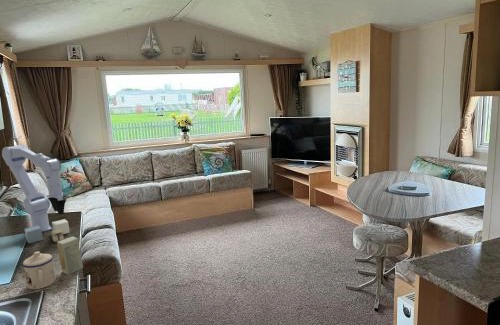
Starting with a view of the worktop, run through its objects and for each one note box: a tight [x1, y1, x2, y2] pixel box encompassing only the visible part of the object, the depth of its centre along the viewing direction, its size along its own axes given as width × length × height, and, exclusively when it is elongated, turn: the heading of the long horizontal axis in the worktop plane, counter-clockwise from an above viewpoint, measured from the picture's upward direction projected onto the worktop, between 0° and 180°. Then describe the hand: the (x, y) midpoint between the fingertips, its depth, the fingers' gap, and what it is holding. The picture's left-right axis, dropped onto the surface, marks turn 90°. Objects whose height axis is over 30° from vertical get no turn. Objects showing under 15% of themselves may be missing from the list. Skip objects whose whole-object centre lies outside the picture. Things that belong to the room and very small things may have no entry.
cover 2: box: [51, 218, 71, 235], centre depth 177 cm, size 6×6×6 cm
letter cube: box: [50, 229, 65, 243], centre depth 168 cm, size 4×4×4 cm
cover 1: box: [24, 226, 44, 244], centre depth 169 cm, size 6×6×6 cm
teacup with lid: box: [22, 250, 56, 290], centre depth 126 cm, size 12×9×12 cm
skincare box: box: [56, 236, 84, 275], centre depth 136 cm, size 6×4×12 cm
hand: (59, 212), depth 175 cm, fingers open, 7 cm apart
